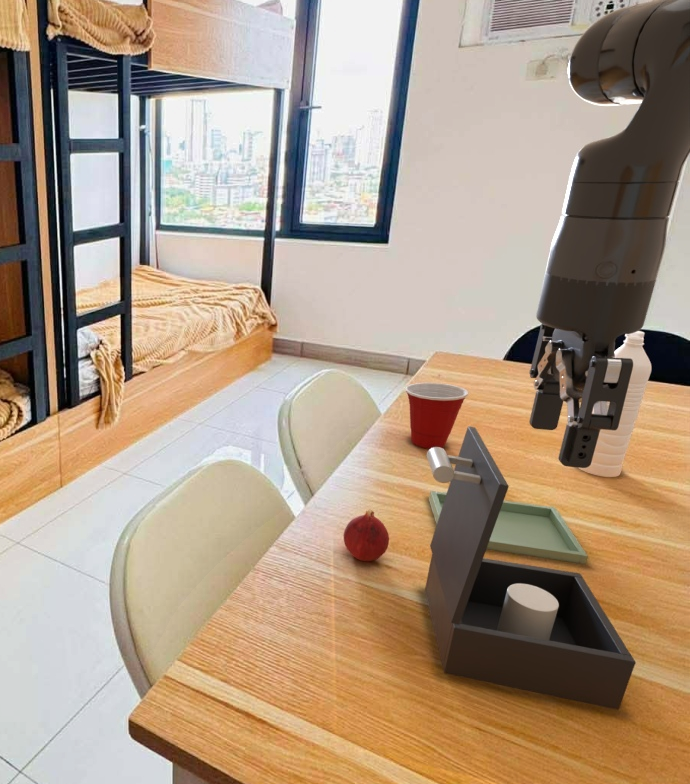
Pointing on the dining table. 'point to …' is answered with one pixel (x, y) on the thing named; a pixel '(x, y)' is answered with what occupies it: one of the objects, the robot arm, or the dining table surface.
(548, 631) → the white cylinder
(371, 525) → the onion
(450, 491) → the lid
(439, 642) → the dark gray hinged box
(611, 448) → the water bottle
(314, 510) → the dining table surface
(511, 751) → the dining table surface
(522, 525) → the drip tray
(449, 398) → the plastic cup
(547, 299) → the robot arm
